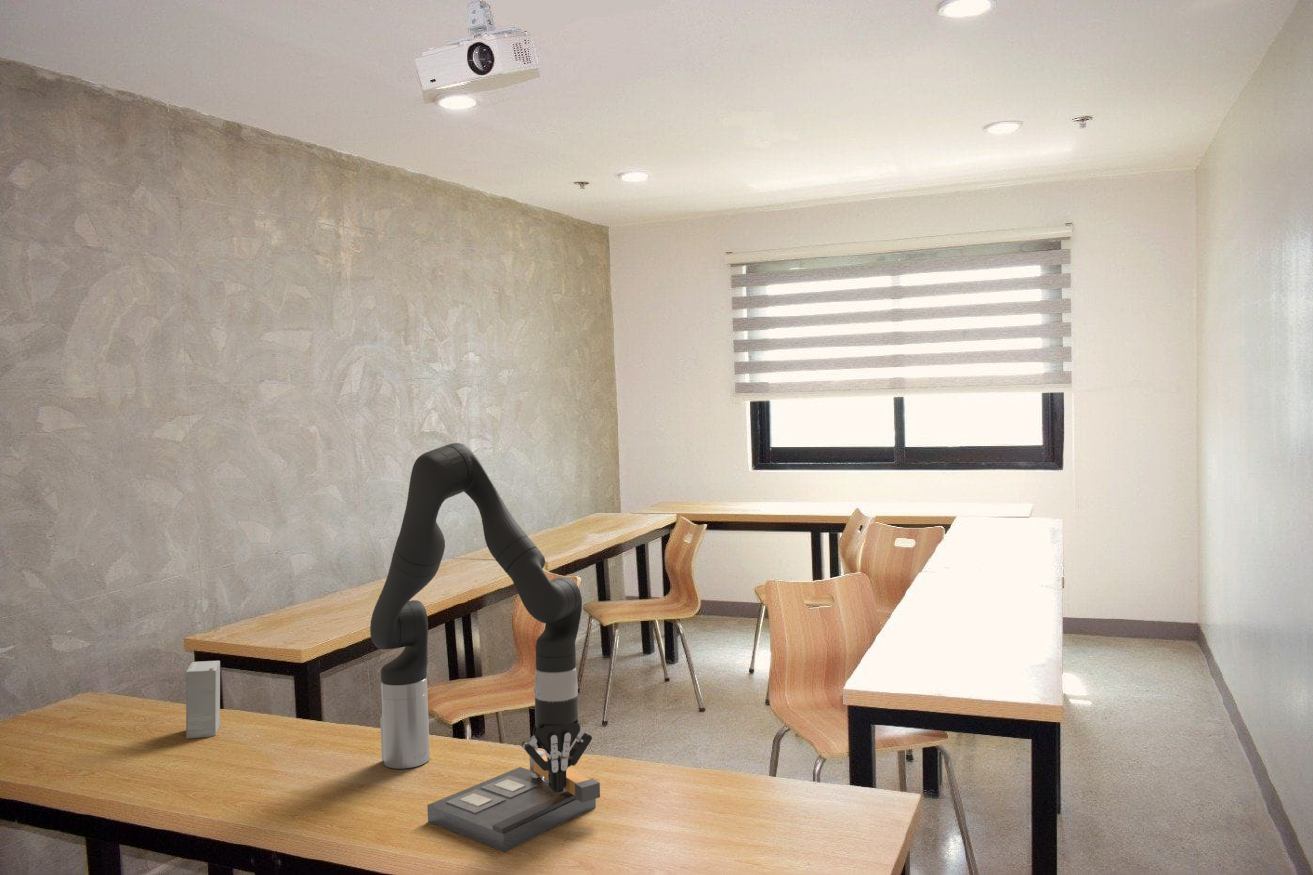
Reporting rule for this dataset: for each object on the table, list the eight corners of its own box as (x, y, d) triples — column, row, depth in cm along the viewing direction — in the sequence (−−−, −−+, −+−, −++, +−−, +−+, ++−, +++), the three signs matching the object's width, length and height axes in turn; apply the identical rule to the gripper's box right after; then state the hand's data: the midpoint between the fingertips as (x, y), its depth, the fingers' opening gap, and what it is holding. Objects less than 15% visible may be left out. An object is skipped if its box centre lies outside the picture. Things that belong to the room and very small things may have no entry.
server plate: (427, 821, 171) (427, 799, 171) (521, 781, 188) (520, 762, 188) (503, 852, 159) (503, 828, 158) (596, 806, 176) (595, 785, 176)
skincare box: (190, 728, 227) (187, 661, 226) (224, 724, 229) (221, 658, 229) (184, 740, 219) (181, 670, 218) (219, 736, 221) (216, 667, 221)
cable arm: (582, 803, 167) (581, 786, 167) (525, 769, 184) (524, 753, 183) (600, 798, 169) (599, 781, 169) (542, 764, 186) (541, 749, 186)
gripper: (527, 704, 164) (528, 805, 164) (599, 693, 170) (600, 791, 170) (513, 693, 171) (514, 790, 171) (583, 682, 176) (584, 777, 177)
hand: (557, 790), depth 171 cm, fingers closed
